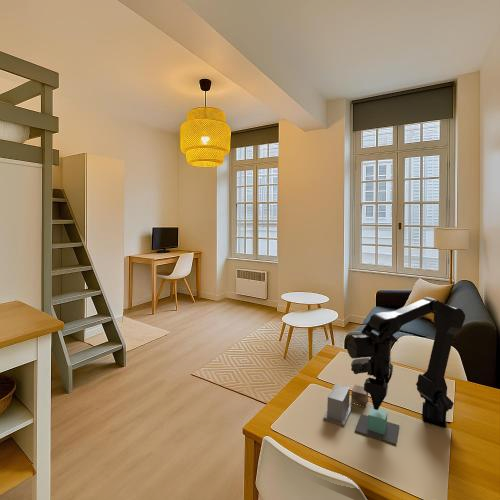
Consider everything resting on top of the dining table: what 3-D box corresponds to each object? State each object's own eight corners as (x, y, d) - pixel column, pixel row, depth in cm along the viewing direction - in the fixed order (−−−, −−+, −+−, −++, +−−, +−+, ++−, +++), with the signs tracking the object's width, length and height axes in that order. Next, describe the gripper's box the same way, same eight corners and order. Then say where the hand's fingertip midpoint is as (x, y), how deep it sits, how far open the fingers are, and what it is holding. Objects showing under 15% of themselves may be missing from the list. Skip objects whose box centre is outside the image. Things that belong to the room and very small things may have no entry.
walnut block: (367, 400, 118) (368, 388, 117) (365, 407, 114) (365, 394, 113) (354, 397, 120) (354, 384, 120) (351, 403, 116) (351, 390, 116)
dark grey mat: (399, 426, 103) (399, 425, 103) (396, 445, 95) (396, 443, 94) (360, 415, 109) (360, 413, 109) (354, 431, 100) (354, 430, 100)
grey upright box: (352, 407, 113) (353, 386, 113) (344, 426, 103) (345, 403, 102) (332, 402, 117) (333, 381, 116) (323, 419, 107) (323, 397, 106)
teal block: (386, 425, 103) (387, 411, 102) (384, 434, 98) (385, 419, 98) (370, 420, 105) (371, 406, 105) (367, 429, 101) (368, 414, 100)
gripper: (359, 340, 111) (357, 382, 113) (347, 360, 95) (345, 409, 97) (394, 346, 106) (391, 391, 107) (387, 369, 90) (384, 421, 91)
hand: (378, 402), depth 101 cm, fingers open, 9 cm apart
